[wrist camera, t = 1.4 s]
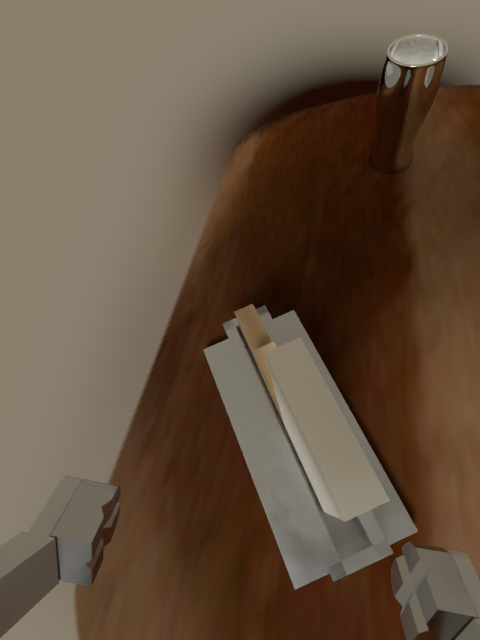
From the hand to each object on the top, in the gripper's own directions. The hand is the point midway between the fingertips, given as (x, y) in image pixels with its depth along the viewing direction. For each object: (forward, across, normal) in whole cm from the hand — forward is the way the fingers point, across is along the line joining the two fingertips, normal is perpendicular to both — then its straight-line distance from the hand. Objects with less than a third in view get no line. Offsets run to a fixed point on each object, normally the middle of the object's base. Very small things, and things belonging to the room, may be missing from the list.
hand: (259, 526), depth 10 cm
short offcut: (+29, -2, +12) cm, 32 cm away
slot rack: (+24, -7, +17) cm, 30 cm away
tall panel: (+20, -8, +18) cm, 28 cm away
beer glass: (+55, -16, -11) cm, 58 cm away
